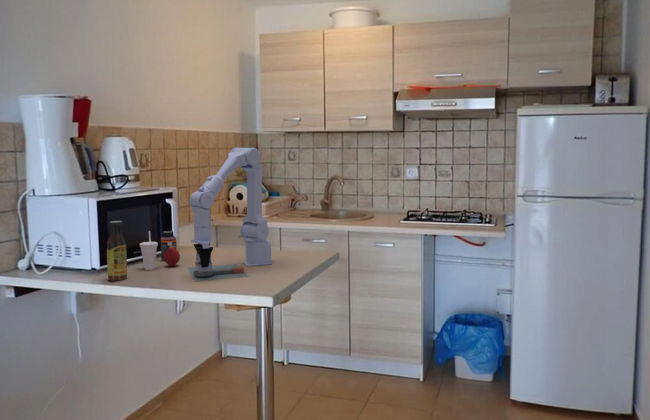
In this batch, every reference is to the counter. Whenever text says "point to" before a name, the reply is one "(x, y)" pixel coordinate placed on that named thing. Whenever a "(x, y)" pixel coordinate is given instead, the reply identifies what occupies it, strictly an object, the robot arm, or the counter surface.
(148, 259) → the smoothie
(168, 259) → the onion
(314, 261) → the counter surface
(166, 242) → the supplement bottle
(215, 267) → the mat
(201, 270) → the socket
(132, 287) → the counter surface
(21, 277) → the counter surface
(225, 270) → the ratchet
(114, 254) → the sauce bottle
